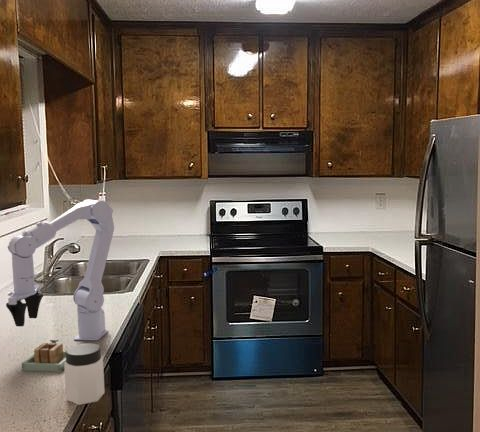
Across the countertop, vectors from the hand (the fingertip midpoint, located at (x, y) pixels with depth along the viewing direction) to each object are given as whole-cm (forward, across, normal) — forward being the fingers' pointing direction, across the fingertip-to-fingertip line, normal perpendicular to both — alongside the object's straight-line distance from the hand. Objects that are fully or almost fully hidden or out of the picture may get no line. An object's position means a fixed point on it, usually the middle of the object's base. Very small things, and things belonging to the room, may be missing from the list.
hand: (26, 321), depth 159 cm
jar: (+10, +27, +29) cm, 41 cm away
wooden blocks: (+9, +8, +10) cm, 16 cm away
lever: (+9, -2, +7) cm, 12 cm away
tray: (+9, +8, +10) cm, 16 cm away
